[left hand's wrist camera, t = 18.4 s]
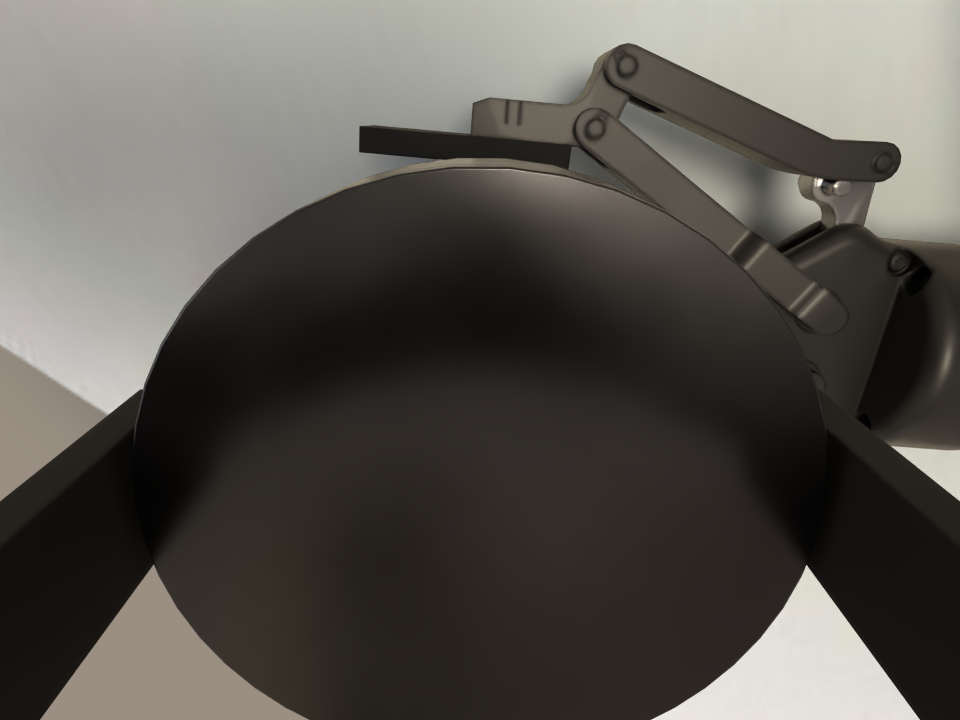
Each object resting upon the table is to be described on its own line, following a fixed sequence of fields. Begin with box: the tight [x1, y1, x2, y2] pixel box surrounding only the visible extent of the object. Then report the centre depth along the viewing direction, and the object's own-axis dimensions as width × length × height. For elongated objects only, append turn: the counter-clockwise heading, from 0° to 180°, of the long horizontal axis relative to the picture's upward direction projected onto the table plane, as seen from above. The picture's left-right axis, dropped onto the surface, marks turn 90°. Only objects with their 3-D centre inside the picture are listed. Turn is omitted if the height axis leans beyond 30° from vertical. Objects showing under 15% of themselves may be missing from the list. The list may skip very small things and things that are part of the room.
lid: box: [132, 158, 829, 720], centre depth 11 cm, size 12×12×2 cm
